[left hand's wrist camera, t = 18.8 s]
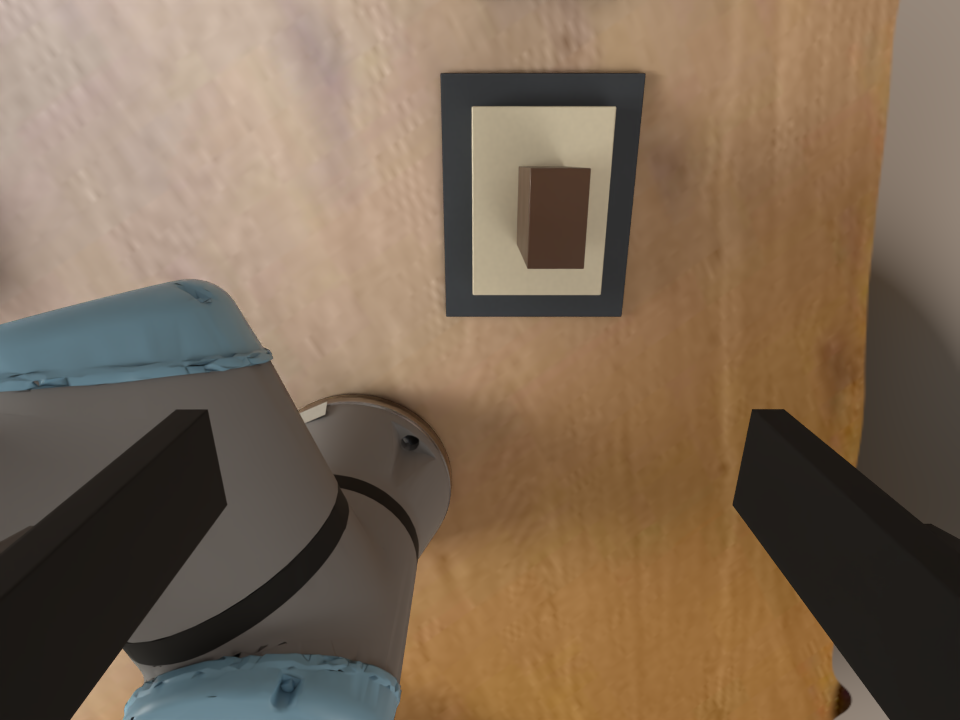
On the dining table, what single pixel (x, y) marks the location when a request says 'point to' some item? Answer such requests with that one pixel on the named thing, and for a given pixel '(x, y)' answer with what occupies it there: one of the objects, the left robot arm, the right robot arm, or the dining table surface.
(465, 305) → the felt mat
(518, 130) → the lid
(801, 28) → the dining table surface
